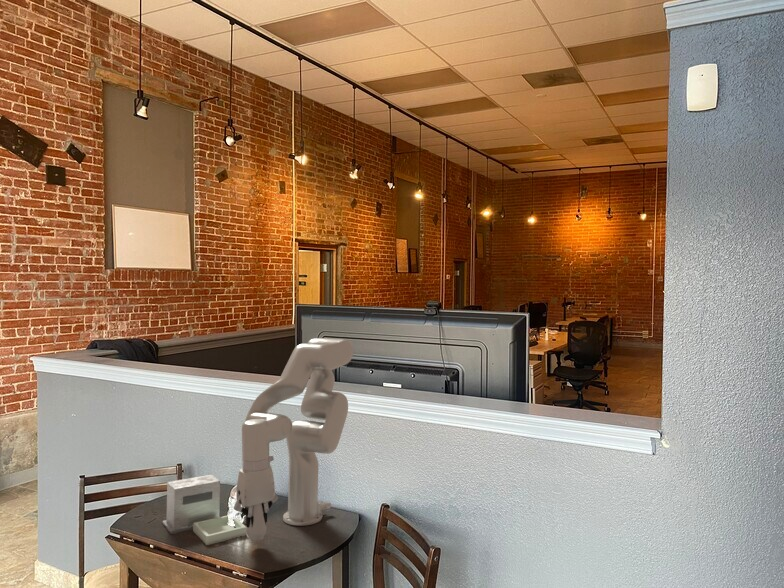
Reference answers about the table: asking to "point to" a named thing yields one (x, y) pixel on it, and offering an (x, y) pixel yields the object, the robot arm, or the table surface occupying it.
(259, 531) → the salt shaker
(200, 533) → the tray
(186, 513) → the unit
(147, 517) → the table surface
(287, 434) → the robot arm
